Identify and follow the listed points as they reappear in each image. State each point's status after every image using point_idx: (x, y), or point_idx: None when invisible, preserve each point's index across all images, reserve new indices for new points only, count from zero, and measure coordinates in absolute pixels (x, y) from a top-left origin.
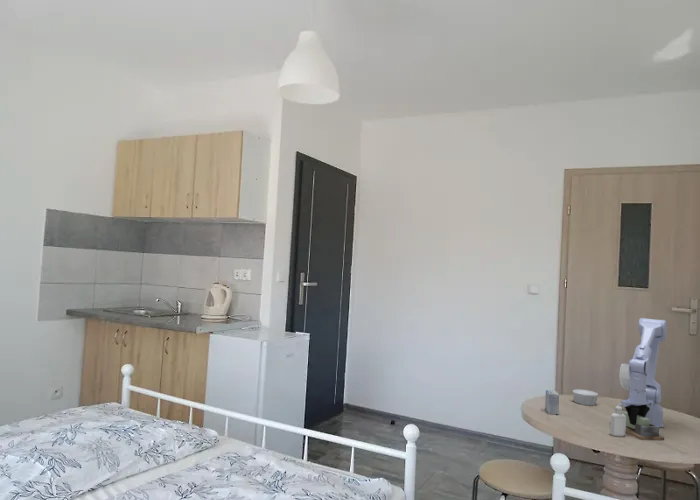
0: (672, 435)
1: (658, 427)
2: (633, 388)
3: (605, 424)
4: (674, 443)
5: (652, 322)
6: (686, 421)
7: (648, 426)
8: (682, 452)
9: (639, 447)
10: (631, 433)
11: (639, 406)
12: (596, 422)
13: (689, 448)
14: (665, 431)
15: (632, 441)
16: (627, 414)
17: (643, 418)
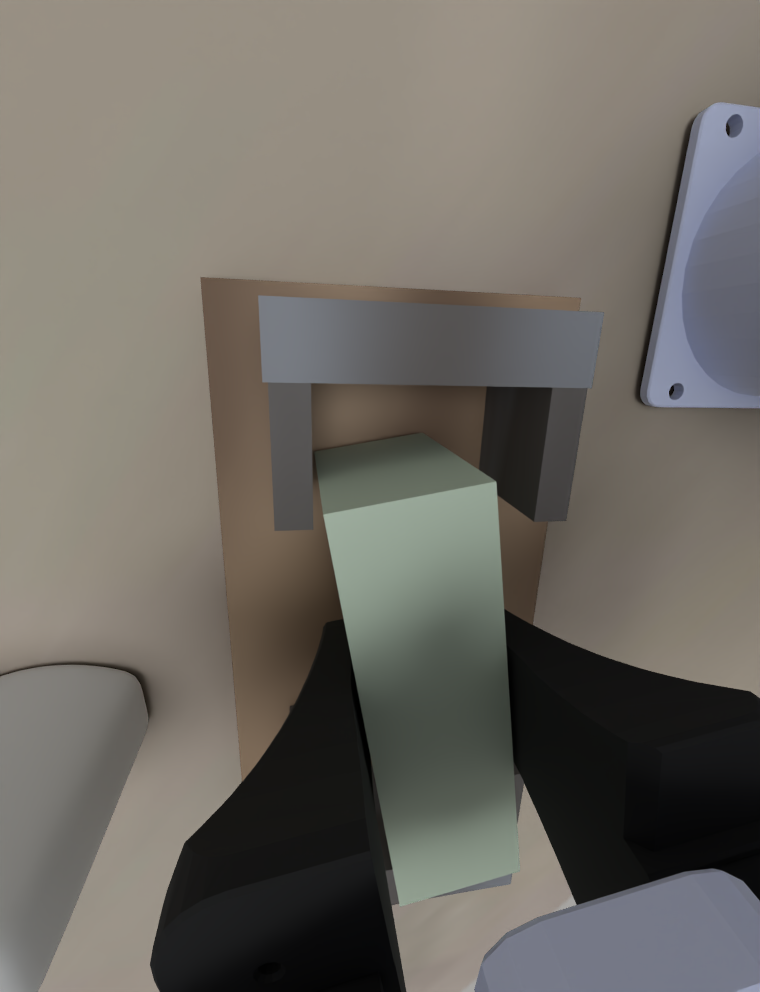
0: (697, 641)
1: (498, 884)
2: None
3: (137, 268)
4: (517, 827)
5: None
6: None
7: (389, 883)
8: (407, 978)
9: (97, 970)
10: (238, 711)
11: (632, 886)
12: (12, 139)
13: (538, 899)
14: (747, 532)
15: (126, 854)
16: (344, 617)
17: (435, 863)
